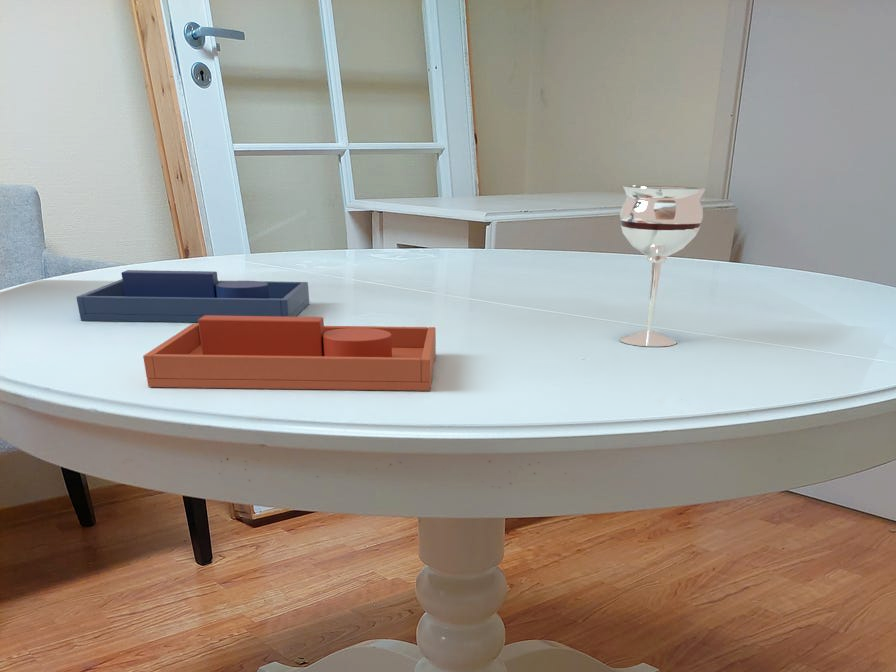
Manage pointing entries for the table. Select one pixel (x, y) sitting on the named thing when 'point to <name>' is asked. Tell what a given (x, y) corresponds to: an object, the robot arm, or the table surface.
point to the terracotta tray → (295, 365)
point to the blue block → (189, 285)
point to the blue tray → (189, 304)
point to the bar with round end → (288, 337)
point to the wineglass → (659, 236)
